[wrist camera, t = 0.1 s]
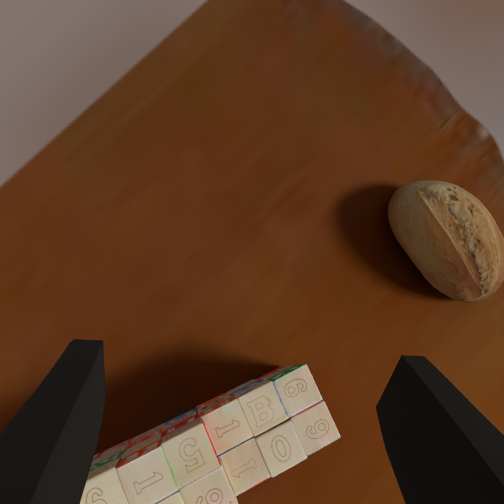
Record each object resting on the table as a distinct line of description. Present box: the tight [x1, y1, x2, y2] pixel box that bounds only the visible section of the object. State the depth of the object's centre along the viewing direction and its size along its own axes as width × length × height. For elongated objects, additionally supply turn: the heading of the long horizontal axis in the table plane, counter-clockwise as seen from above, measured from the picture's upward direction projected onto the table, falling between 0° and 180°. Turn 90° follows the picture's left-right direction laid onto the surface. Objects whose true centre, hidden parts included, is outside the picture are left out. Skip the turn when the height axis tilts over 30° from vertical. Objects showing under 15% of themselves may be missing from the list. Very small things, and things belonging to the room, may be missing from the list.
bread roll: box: [388, 180, 504, 302], centre depth 45 cm, size 10×15×8 cm, turn 36°
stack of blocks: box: [80, 364, 340, 504], centre depth 34 cm, size 21×6×12 cm, turn 115°
